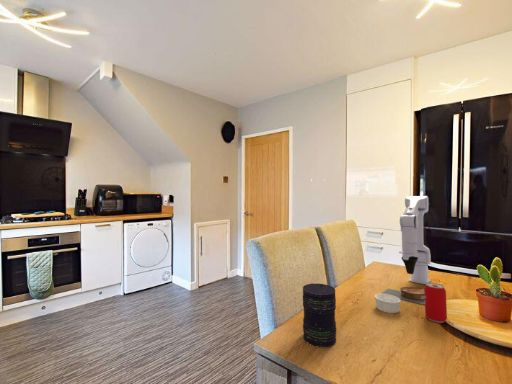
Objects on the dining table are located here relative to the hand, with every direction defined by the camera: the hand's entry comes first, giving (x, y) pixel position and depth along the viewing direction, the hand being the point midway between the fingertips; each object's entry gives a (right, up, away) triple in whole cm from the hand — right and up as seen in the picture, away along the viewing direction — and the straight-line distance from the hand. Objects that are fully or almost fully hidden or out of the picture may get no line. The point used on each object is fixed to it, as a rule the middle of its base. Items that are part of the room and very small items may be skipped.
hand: (410, 273), depth 111 cm
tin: (+3, -8, +2) cm, 9 cm away
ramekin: (-17, -10, -13) cm, 23 cm away
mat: (-2, -10, -2) cm, 10 cm away
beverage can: (-5, -9, -22) cm, 25 cm away
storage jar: (-48, -9, -34) cm, 60 cm away
